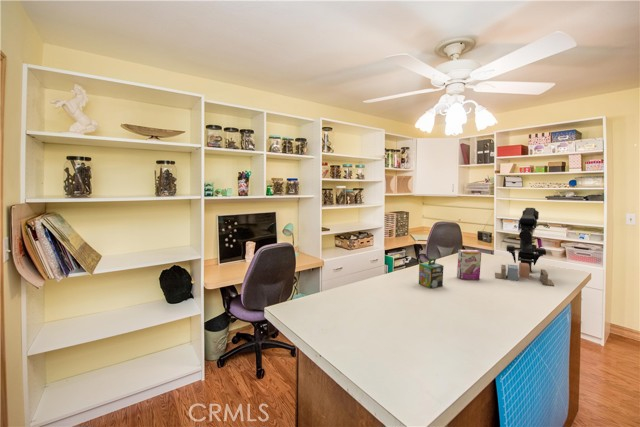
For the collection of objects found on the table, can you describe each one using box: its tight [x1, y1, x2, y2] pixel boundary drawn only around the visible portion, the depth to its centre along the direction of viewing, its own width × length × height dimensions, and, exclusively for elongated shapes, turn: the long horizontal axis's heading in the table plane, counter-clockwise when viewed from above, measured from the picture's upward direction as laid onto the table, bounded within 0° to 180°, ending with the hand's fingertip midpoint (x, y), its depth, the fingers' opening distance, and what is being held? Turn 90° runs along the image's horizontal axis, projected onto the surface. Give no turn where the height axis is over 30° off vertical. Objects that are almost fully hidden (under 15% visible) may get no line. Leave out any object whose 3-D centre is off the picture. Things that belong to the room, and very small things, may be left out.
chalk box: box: [418, 258, 444, 289], centre depth 157 cm, size 9×9×15 cm
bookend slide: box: [539, 268, 555, 287], centre depth 159 cm, size 10×5×6 cm, turn 149°
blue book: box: [506, 264, 519, 282], centre depth 167 cm, size 8×4×7 cm, turn 149°
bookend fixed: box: [494, 264, 507, 280], centre depth 170 cm, size 10×5×6 cm, turn 149°
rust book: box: [518, 262, 531, 280], centre depth 171 cm, size 8×4×7 cm, turn 149°
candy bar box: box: [456, 249, 482, 281], centre depth 167 cm, size 11×5×16 cm, turn 84°
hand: (524, 264), depth 170 cm, fingers open, 9 cm apart
